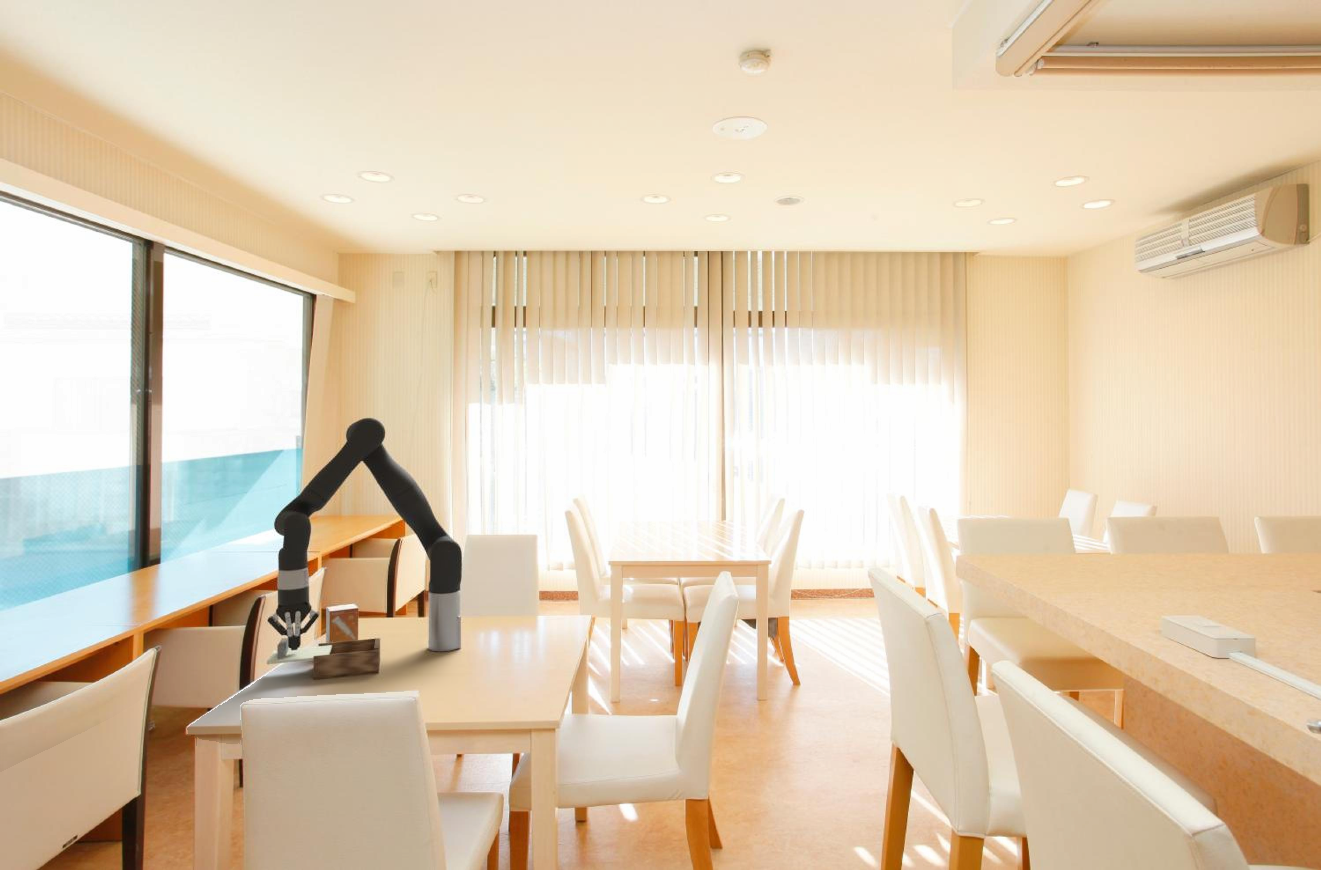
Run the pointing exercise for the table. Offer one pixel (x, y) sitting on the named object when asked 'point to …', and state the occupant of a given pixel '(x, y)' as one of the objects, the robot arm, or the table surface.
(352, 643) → the walnut box
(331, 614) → the small box
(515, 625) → the table surface
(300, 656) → the cover plate
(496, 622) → the table surface
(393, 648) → the table surface
